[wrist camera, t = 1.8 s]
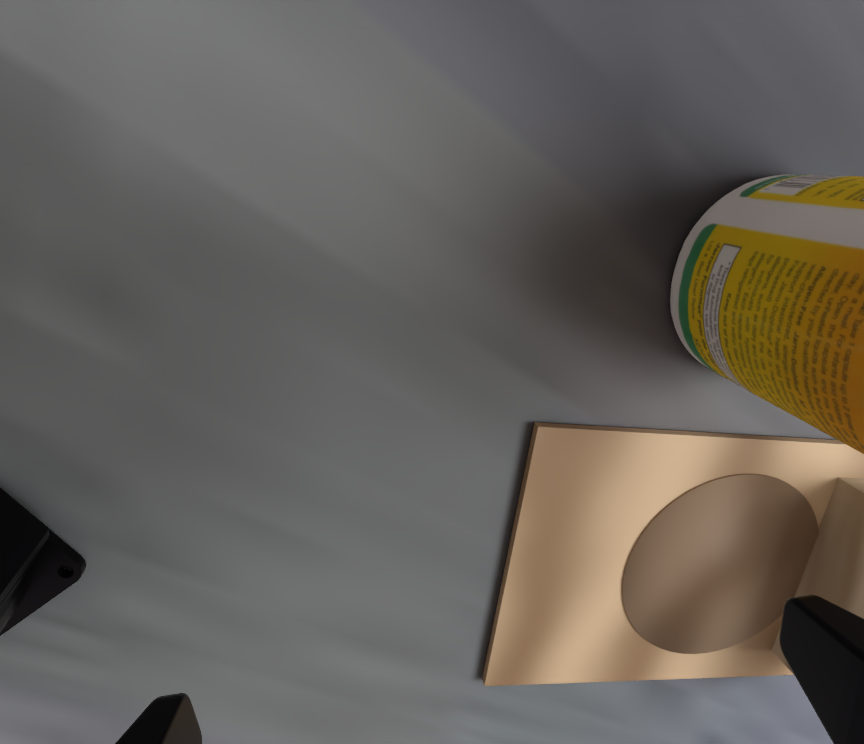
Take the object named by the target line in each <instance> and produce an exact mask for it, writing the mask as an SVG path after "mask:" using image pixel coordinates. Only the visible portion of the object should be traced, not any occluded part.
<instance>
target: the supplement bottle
mask: <svg viewBox="0 0 864 744" xmlns="http://www.w3.org/2000/svg"><path fill="white" fill-rule="evenodd" d="M670 307H671V315H672V319H673V323H674V326H675V329H676V331H677V334H678V336H679V338H680V340H681V342H682V343H683V345H684V346H685V348H686V349H687V350H688V351H689V353H690V354H691V355H692V356H693V357H694V358H695V359H696V360H697V361H699V362H700V363H701V364H703V365H704V366H706V367H707V368H709V369H711V370H713V371H714V372H716V373H718V374H719V375H721V376H723V377H725V378H727V379H729V380H730V381H732V382H734V383H736V384H737V385H739V386H741V387H742V388H744V389H746V390H748V391H749V392H751V393H753V394H755V395H757V396H759V397H760V398H762V399H764V400H766V401H768V402H770V403H771V404H773V405H775V406H777V407H779V408H781V409H782V410H784V411H786V412H788V413H790V414H792V415H793V416H795V417H797V418H799V419H801V420H803V421H805V422H806V423H808V424H810V425H812V426H813V427H815V428H817V429H819V430H820V431H822V432H824V433H826V434H828V435H830V436H832V437H833V438H835V439H837V440H839V441H841V442H843V443H844V444H846V445H848V446H850V447H852V448H853V449H855V450H857V451H859V452H861V453H863V454H864V177H858V176H827V175H776V176H770V177H765V178H761V179H757V180H754V181H751V182H749V183H746V184H744V185H742V186H740V187H738V188H737V189H735V190H733V191H731V192H730V193H728V194H726V195H725V196H724V197H722V198H721V199H720V200H718V201H717V202H716V203H715V204H714V205H712V206H711V207H710V208H709V209H708V210H707V211H706V212H705V213H704V214H703V216H702V217H701V218H700V219H699V221H698V222H697V223H696V224H695V226H694V227H693V228H692V230H691V231H690V233H689V235H688V236H687V238H686V240H685V242H684V244H683V246H682V249H681V251H680V254H679V256H678V260H677V263H676V267H675V270H674V274H673V278H672V283H671V294H670Z"/></svg>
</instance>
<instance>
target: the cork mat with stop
mask: <svg viewBox="0 0 864 744" xmlns="http://www.w3.org/2000/svg"><path fill="white" fill-rule="evenodd" d="M810 594H811V595H817V596H819V597H822V598H824V599H826V600H828V601H830V602H832V603H834V604H836V605H838V606H840V607H842V608H844V609H845V610H847V611H849V612H851V613H853V614H855V615H857V616H859V617H861V618H863V619H864V454H863V453H861V452H859V451H857V450H855V449H853V448H852V447H850V446H848V445H846V444H844V443H843V442H841V441H839V440H826V439H809V438H792V437H775V436H758V435H741V434H725V433H708V432H691V431H674V430H657V429H640V428H623V427H606V426H589V425H572V424H555V423H539V422H534V427H533V432H532V437H531V442H530V447H529V452H528V456H527V461H526V466H525V471H524V476H523V481H522V486H521V491H520V496H519V500H518V505H517V510H516V515H515V520H514V525H513V530H512V535H511V539H510V544H509V549H508V554H507V559H506V564H505V569H504V574H503V579H502V583H501V588H500V593H499V598H498V603H497V608H496V613H495V618H494V622H493V627H492V632H491V637H490V642H489V647H488V652H487V657H486V662H485V666H484V671H483V676H482V680H483V683H484V686H499V685H526V684H553V683H580V682H608V681H635V680H662V679H689V678H716V677H743V676H771V675H794V673H793V671H792V669H791V667H790V666H789V664H788V662H787V660H786V659H785V657H784V655H783V653H782V650H781V647H780V640H779V636H780V629H781V622H782V616H783V609H784V604H785V602H786V600H787V599H788V598H791V597H797V596H803V595H810Z"/></svg>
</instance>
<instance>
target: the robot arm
mask: <svg viewBox="0 0 864 744" xmlns="http://www.w3.org/2000/svg"><path fill="white" fill-rule="evenodd" d="M63 565H65V566H70V567H72V569H73V571H69V570H66V569H64V568H63ZM85 568H86V562H85V560H84V558H83V557H82V556H81V555H80V554H78V553H77V552H76V551H75V550H74V549H72V548H71V547H70V546H69V545H68V544H66V543H65V542H64V541H63V540H62V539H60V538H59V537H58V536H57V535H56V534H54V533H53V532H52V531H51V530H50V529H48V527H47V526H45V525H44V524H43V523H42V522H41V521H39V520H38V519H37V518H36V517H35V516H33V515H32V514H31V513H30V512H29V511H27V510H26V509H25V508H24V507H23V506H21V505H20V504H19V503H18V502H17V501H15V500H14V499H13V498H12V497H11V496H9V495H8V494H7V493H6V492H5V491H3V490H2V489H1V488H0V636H1V635H2V634H3V633H5V632H6V631H8V630H9V629H10V628H12V627H13V626H15V625H16V624H17V623H19V622H20V621H22V620H23V619H24V618H26V617H27V616H29V615H30V614H31V613H33V612H34V611H36V610H37V609H38V608H40V607H41V606H43V605H44V604H46V603H47V602H48V601H50V600H51V599H53V598H54V597H55V596H57V595H58V594H60V593H61V592H62V591H64V590H65V589H67V588H68V587H69V586H71V585H72V584H74V583H75V582H76V581H78V580H79V578H80V577H81V576H82V574H83V572H84V571H85ZM779 640H780V647H781V650H782V653H783V655H784V657H785V659H786V660H787V662H788V664H789V666H790V667H791V669H792V671H793V673H794V675H795V676H796V678H797V680H798V682H799V683H800V685H801V687H802V689H803V690H804V692H805V694H806V696H807V697H808V699H809V701H810V703H811V705H812V706H813V708H814V710H815V712H816V713H817V715H818V717H819V719H820V720H821V722H822V724H823V726H824V727H825V729H826V731H827V733H828V735H829V736H830V738H831V740H832V741H833V743H834V744H864V619H863V618H861V617H859V616H857V615H855V614H853V613H851V612H849V611H847V610H845V609H844V608H842V607H840V606H838V605H836V604H834V603H832V602H830V601H828V600H826V599H824V598H822V597H819V596H817V595H811V594H810V595H803V596H797V597H791V598H788V599H787V600H786V602H785V604H784V609H783V616H782V622H781V629H780V636H779ZM115 744H202V735H201V731H200V728H199V725H198V722H197V719H196V716H195V713H194V710H193V707H192V704H191V701H190V699H189V697H188V696H187V695H186V694H185V693H179V694H173V695H166V696H161V697H158V698H156V699H155V700H154V701H153V702H152V703H151V704H150V705H149V706H148V707H147V708H146V709H145V710H144V712H143V713H142V714H141V715H140V716H139V717H138V718H137V720H136V721H135V722H134V723H133V724H132V725H131V726H130V727H129V729H128V730H127V731H126V732H125V733H124V734H123V735H122V737H121V738H120V739H119V740H118V741H117V742H116V743H115Z"/></svg>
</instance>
